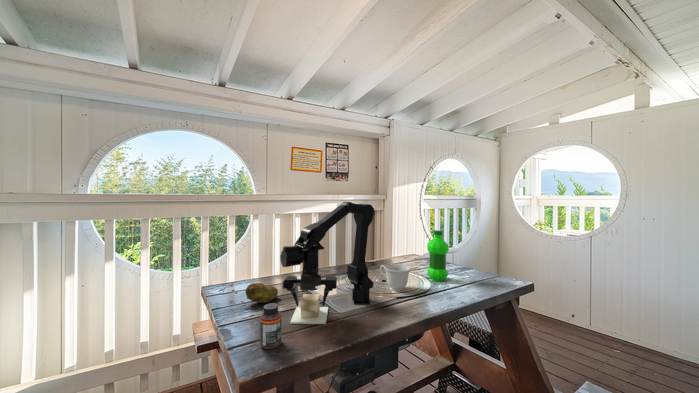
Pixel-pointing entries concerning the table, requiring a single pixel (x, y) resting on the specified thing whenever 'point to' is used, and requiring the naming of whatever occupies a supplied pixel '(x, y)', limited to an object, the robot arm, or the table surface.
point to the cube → (310, 305)
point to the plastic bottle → (437, 257)
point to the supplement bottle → (270, 326)
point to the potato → (261, 292)
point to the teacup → (396, 275)
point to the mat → (320, 320)
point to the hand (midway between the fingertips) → (310, 306)
